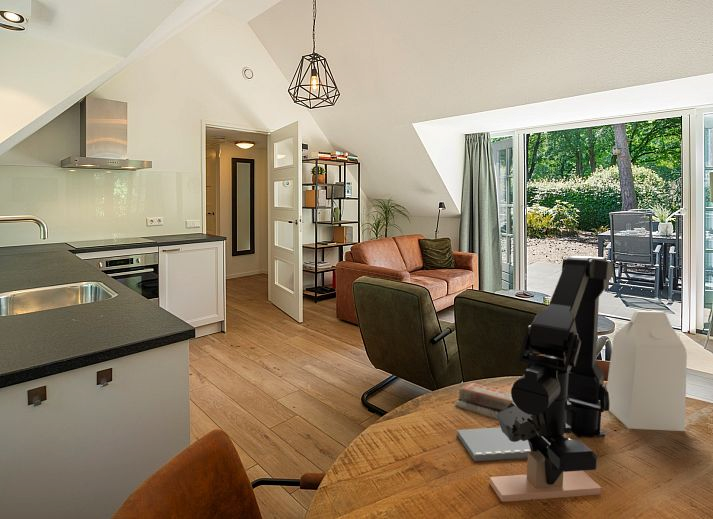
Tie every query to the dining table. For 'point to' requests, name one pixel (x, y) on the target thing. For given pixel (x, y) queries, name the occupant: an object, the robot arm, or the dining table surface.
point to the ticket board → (492, 444)
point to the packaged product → (483, 399)
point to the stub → (542, 483)
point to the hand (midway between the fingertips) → (544, 478)
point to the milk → (648, 374)
